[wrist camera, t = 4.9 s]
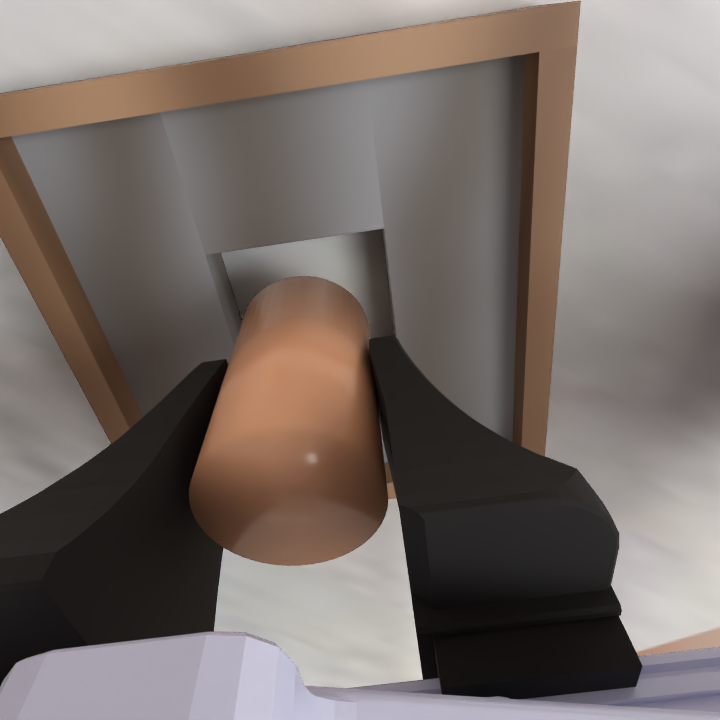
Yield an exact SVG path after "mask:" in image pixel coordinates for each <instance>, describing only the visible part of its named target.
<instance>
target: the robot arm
mask: <svg viewBox="0 0 720 720" xmlns="http://www.w3.org/2000/svg"><path fill="white" fill-rule="evenodd" d="M369 352H370V359H371V365H372V372H373V378H374V383H375V388H376V393H377V401H378V410H379V418H380V425H381V432H382V438H383V443H384V447H385V451H386V456H387V460H388V464H389V468H390V473H391V477H392V481H393V485H394V490H395V494H396V498H397V502H398V507H399V511H400V518H401V525H402V532H403V539H404V546H405V553H406V561H407V568H408V575H409V582H410V589H411V596H412V604H413V611H414V619H415V626H416V633H417V640H418V647H419V654H420V661H421V668H422V675H423V680H417V681H408V682H399V683H390V684H382V685H373V686H364V687H355V688H331V687H315V686H305V685H304V683H303V681H302V678H301V676H300V673H299V671H298V668H297V666H296V664H295V663H294V662H293V661H292V660H291V659H290V658H289V657H288V656H287V655H286V654H285V653H284V652H283V651H282V650H281V649H280V648H279V647H278V646H277V645H276V644H275V643H274V642H271V641H268V640H265V639H262V638H259V637H256V636H254V635H251V634H248V633H242V632H214V623H215V613H216V603H217V593H218V585H219V577H220V569H221V561H222V553H223V547H222V546H221V545H219V544H218V543H216V542H215V541H214V540H212V539H211V538H210V537H209V536H208V535H207V534H206V533H205V532H204V531H203V529H202V528H201V527H200V526H199V524H198V523H197V521H196V519H195V518H194V515H193V513H192V510H191V507H190V502H189V488H190V482H191V479H192V476H193V473H194V470H195V466H196V463H197V460H198V457H199V454H200V451H201V448H202V445H203V442H204V438H205V435H206V432H207V429H208V426H209V423H210V420H211V417H212V414H213V410H214V407H215V404H216V401H217V398H218V395H219V392H220V389H221V386H222V382H223V379H224V376H225V373H226V370H227V367H228V363H227V360H226V359H222V360H215V361H208V362H202V363H201V364H199V365H198V366H197V367H196V368H195V369H194V370H192V371H191V372H190V373H189V374H188V375H187V376H186V377H185V378H184V379H183V380H182V381H181V382H180V383H179V384H178V385H177V386H176V387H175V388H174V389H173V390H172V391H171V392H170V393H169V394H167V395H166V396H165V397H164V398H163V399H162V400H161V401H160V402H159V403H158V404H157V405H156V406H155V407H154V408H153V409H152V410H151V411H150V412H148V413H147V414H146V415H145V416H144V417H143V418H142V419H140V420H139V421H138V422H137V423H136V424H135V425H134V426H132V427H131V428H130V429H129V430H128V431H127V432H126V433H124V434H123V435H122V436H121V437H120V438H118V439H117V440H116V441H115V442H113V443H112V444H111V445H109V446H108V447H107V448H106V449H104V450H103V451H102V452H100V453H99V454H97V455H96V456H95V457H93V458H92V459H91V460H89V461H88V462H86V463H85V464H83V465H82V466H81V467H79V468H78V469H76V470H74V471H73V472H71V473H70V474H68V475H67V476H65V477H63V478H62V479H60V480H59V481H57V482H55V483H54V484H52V485H51V486H49V487H48V488H46V489H44V490H43V491H41V492H39V493H38V494H36V495H34V496H32V497H31V498H29V499H27V500H25V501H24V502H22V503H20V504H18V505H16V506H15V507H13V508H11V509H9V510H7V511H5V512H3V513H1V514H0V720H720V647H713V648H705V649H696V650H687V651H678V652H669V653H660V654H651V655H642V656H638V655H637V653H636V651H635V649H634V647H633V645H632V643H631V641H630V639H629V636H628V634H627V632H626V630H625V628H624V626H623V624H622V622H621V620H620V618H619V616H620V615H621V612H622V610H621V605H620V603H619V601H618V599H617V597H616V595H615V593H614V590H613V588H612V586H611V582H612V578H613V573H614V568H615V564H616V559H617V555H618V550H619V532H618V530H617V528H616V526H615V524H614V521H613V519H612V517H611V515H610V514H609V512H608V510H607V509H606V507H605V505H604V504H603V502H602V501H601V499H600V498H599V497H598V495H597V494H596V493H595V491H594V490H593V489H592V487H591V486H590V485H589V484H588V482H587V481H586V480H585V478H584V477H583V476H582V474H581V473H580V472H579V471H578V470H577V469H576V468H573V467H571V466H568V465H566V464H563V463H560V462H558V461H555V460H553V459H550V458H547V457H545V456H542V455H539V454H537V453H535V452H532V451H530V450H528V449H526V448H524V447H522V446H520V445H518V444H516V443H513V442H511V441H509V440H508V439H506V438H504V437H502V436H500V435H499V434H497V433H495V432H494V431H492V430H490V429H489V428H487V427H485V426H483V425H482V424H480V423H479V422H477V421H476V420H474V419H473V418H472V417H470V416H469V415H467V414H466V413H465V412H464V411H462V410H461V409H460V408H458V407H457V406H456V405H455V404H454V403H452V402H451V401H450V400H449V399H448V398H447V397H446V396H445V395H443V394H442V393H441V392H440V391H439V390H438V389H437V388H436V387H435V386H434V385H433V384H432V383H431V382H430V381H429V380H428V379H427V377H426V376H425V375H424V374H423V373H422V372H421V371H420V370H419V368H418V367H417V366H416V365H415V364H414V362H413V361H412V360H411V358H410V357H409V356H408V354H407V353H406V352H405V350H404V349H403V347H402V345H401V344H400V342H399V340H398V339H397V338H396V337H395V336H388V337H381V338H373V339H369Z"/></svg>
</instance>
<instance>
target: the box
mask: <svg viewBox="0 0 720 720" xmlns="http://www.w3.org/2000/svg"><path fill="white" fill-rule="evenodd" d="M580 2H581V1H574V2H565V3H556V4H547V5H539V6H533V7H527V8H521V9H515V10H508V11H502V12H496V13H490V14H484V15H478V16H472V17H466V18H459V19H453V20H447V21H441V22H435V23H429V24H423V25H417V26H410V27H404V28H398V29H392V30H386V31H380V32H374V33H368V34H361V35H355V36H349V37H343V38H337V39H331V40H325V41H319V42H312V43H306V44H300V45H294V46H288V47H282V48H276V49H270V50H263V51H257V52H251V53H245V54H239V55H233V56H227V57H221V58H214V59H208V60H202V61H196V62H190V63H184V64H178V65H172V66H165V67H159V68H153V69H147V70H141V71H135V72H129V73H123V74H116V75H110V76H104V77H98V78H92V79H86V80H80V81H74V82H67V83H61V84H55V85H49V86H43V87H37V88H31V89H24V90H18V91H12V92H6V93H0V237H1V239H2V241H3V243H4V244H5V246H6V248H7V250H8V252H9V254H10V256H11V257H12V259H13V261H14V263H15V265H16V267H17V269H18V270H19V272H20V274H21V276H22V278H23V280H24V282H25V284H26V285H27V287H28V289H29V291H30V293H31V295H32V297H33V298H34V300H35V302H36V304H37V306H38V308H39V310H40V312H41V313H42V315H43V317H44V319H45V321H46V323H47V325H48V326H49V328H50V330H51V332H52V334H53V336H54V338H55V340H56V341H57V343H58V345H59V347H60V349H61V351H62V353H63V354H64V356H65V358H66V360H67V362H68V364H69V366H70V368H71V369H72V371H73V373H74V375H75V377H76V379H77V381H78V382H79V384H80V386H81V388H82V390H83V392H84V394H85V396H86V397H87V399H88V401H89V403H90V405H91V407H92V409H93V410H94V412H95V414H96V416H97V418H98V420H99V422H100V423H101V425H102V427H103V429H104V431H105V433H106V435H107V437H108V438H109V440H110V442H111V444H112V443H113V442H115V441H116V440H117V439H118V438H120V437H121V436H122V435H123V434H124V433H126V432H127V431H128V430H129V429H130V428H131V427H132V426H134V425H135V424H136V423H137V422H138V421H139V420H140V419H142V418H143V417H144V416H145V415H146V414H147V413H148V412H150V411H151V410H152V409H153V408H154V407H155V406H156V405H157V404H158V403H159V402H160V401H161V400H162V399H163V398H164V397H165V396H166V395H167V394H169V393H170V392H171V391H172V390H173V389H174V388H175V387H176V386H177V385H178V384H179V383H180V382H181V381H182V380H183V379H184V378H185V377H186V376H187V375H188V374H189V373H190V372H191V371H192V370H194V369H195V368H196V367H197V366H198V365H199V364H201V363H202V362H208V361H215V360H222V359H226V360H227V363H228V364H229V361H230V358H231V354H232V351H233V348H234V345H235V342H236V339H237V336H238V333H239V330H240V326H241V323H242V322H241V319H240V315H239V312H238V309H237V305H236V302H235V299H234V295H233V292H232V289H231V285H230V282H229V279H228V275H227V272H226V269H225V265H224V262H223V259H222V255H221V252H228V251H235V250H241V249H248V248H255V247H262V246H269V245H275V244H282V243H289V242H296V241H303V240H309V239H316V238H323V237H330V236H336V235H343V234H350V233H357V232H364V231H370V230H377V229H382V232H383V240H384V249H385V257H386V266H387V274H388V283H389V292H390V300H391V309H392V317H393V326H394V334H395V337H396V338H397V339H398V340H399V342H400V344H401V345H402V347H403V349H404V350H405V352H406V353H407V354H408V356H409V357H410V358H411V360H412V361H413V362H414V364H415V365H416V366H417V367H418V368H419V370H420V371H421V372H422V373H423V374H424V375H425V376H426V377H427V379H428V380H429V381H430V382H431V383H432V384H433V385H434V386H435V387H436V388H437V389H438V390H439V391H440V392H441V393H442V394H443V395H445V396H446V397H447V398H448V399H449V400H450V401H451V402H452V403H454V404H455V405H456V406H457V407H458V408H460V409H461V410H462V411H464V412H465V413H466V414H467V415H469V416H470V417H472V418H473V419H474V420H476V421H477V422H479V423H480V424H482V425H483V426H485V427H487V428H489V429H490V430H492V431H494V432H495V433H497V434H499V435H500V436H502V437H504V438H506V439H508V440H509V441H511V442H513V443H516V444H518V445H520V446H522V447H524V448H526V449H528V450H530V451H532V452H535V453H537V454H539V455H542V456H545V443H546V431H547V418H548V406H549V393H550V380H551V368H552V355H553V343H554V330H555V317H556V305H557V292H558V280H559V267H560V254H561V242H562V229H563V216H564V204H565V191H566V179H567V166H568V153H569V141H570V128H571V116H572V103H573V90H574V78H575V65H576V53H577V40H578V27H579V15H580ZM379 419H380V418H379ZM380 428H381V425H380ZM381 437H382V432H381ZM382 446H383V455H384V464H385V473H386V482H387V491H388V499H392V498H396V494H395V490H394V485H393V481H392V477H391V473H390V468H389V464H388V460H387V456H386V451H385V447H384V443H383V438H382Z"/></svg>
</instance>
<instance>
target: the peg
mask: <svg viewBox="0 0 720 720" xmlns="http://www.w3.org/2000/svg"><path fill="white" fill-rule="evenodd" d="M369 339H370V330H369V323H368V319H367V316H366V314H365V312H364V310H363V308H362V306H361V305H360V303H359V302H358V301H357V299H356V298H355V297H354V296H353V295H352V294H351V293H350V292H348V291H347V290H346V289H344V288H343V287H341V286H339V285H337V284H336V283H333V282H331V281H328V280H325V279H322V278H318V277H310V276H298V277H290V278H286V279H282V280H279V281H277V282H274V283H272V284H270V285H269V286H267V287H265V288H264V289H263V290H261V291H260V292H259V293H258V294H257V295H256V296H255V297H254V298H253V300H252V301H251V302H250V304H249V306H248V307H247V309H246V312H245V314H244V317H243V320H242V323H241V326H240V330H239V333H238V336H237V339H236V342H235V345H234V348H233V351H232V354H231V358H230V361H229V364H228V367H227V370H226V373H225V376H224V379H223V382H222V386H221V389H220V392H219V395H218V398H217V401H216V404H215V407H214V410H213V414H212V417H211V420H210V423H209V426H208V429H207V432H206V435H205V438H204V442H203V445H202V448H201V451H200V454H199V457H198V460H197V463H196V466H195V470H194V473H193V476H192V479H191V482H190V488H189V502H190V507H191V510H192V513H193V515H194V518H195V519H196V521H197V523H198V524H199V526H200V527H201V528H202V529H203V531H204V532H205V533H206V534H207V535H208V536H209V537H210V538H211V539H212V540H214V541H215V542H216V543H218V544H219V545H221V546H222V547H224V548H225V549H227V550H229V551H231V552H233V553H235V554H237V555H240V556H242V557H245V558H248V559H251V560H254V561H258V562H262V563H268V564H275V565H308V564H315V563H320V562H325V561H328V560H332V559H335V558H338V557H340V556H343V555H345V554H347V553H349V552H351V551H353V550H355V549H356V548H358V547H359V546H361V545H362V544H364V543H365V542H366V541H367V540H368V539H370V537H371V536H372V535H373V534H374V533H375V532H376V531H377V529H378V528H379V527H380V525H381V523H382V521H383V519H384V517H385V515H386V511H387V507H388V491H387V482H386V473H385V464H384V455H383V446H382V437H381V428H380V419H379V410H378V401H377V393H376V388H375V383H374V378H373V372H372V365H371V359H370V352H369Z"/></svg>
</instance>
